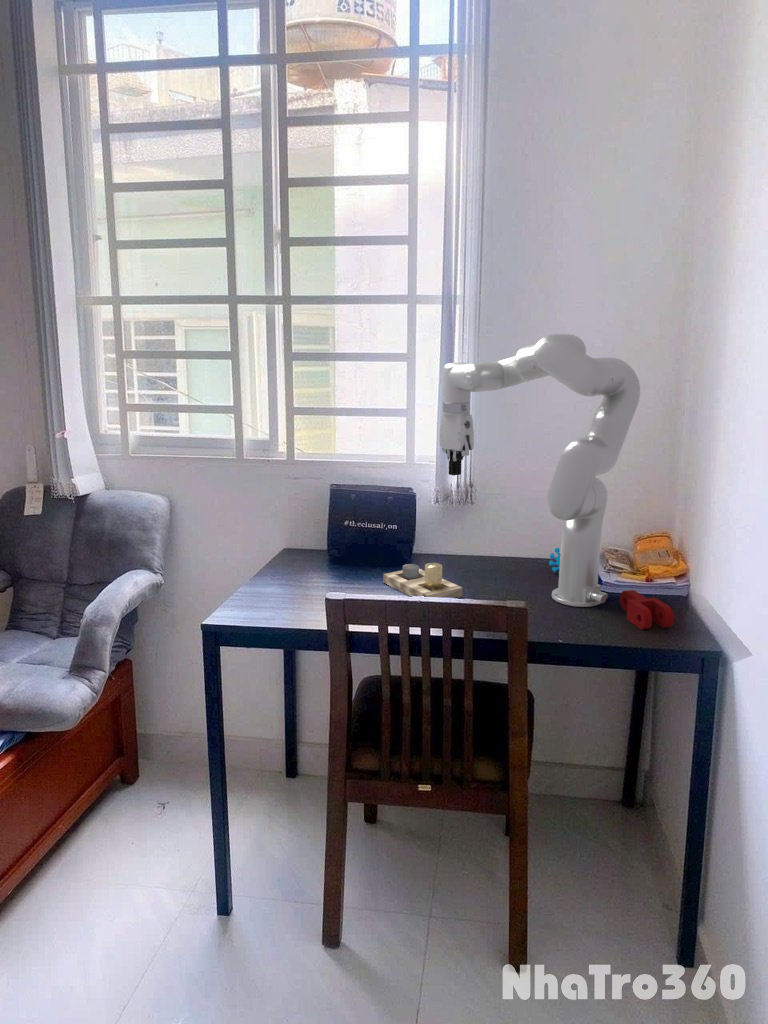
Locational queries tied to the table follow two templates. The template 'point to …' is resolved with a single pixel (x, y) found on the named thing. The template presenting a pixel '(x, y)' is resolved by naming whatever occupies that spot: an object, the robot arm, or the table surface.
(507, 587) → the table surface
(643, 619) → the mechanical linkage
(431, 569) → the gold metallic cylinder
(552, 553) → the gear
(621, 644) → the table surface
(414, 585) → the jig
